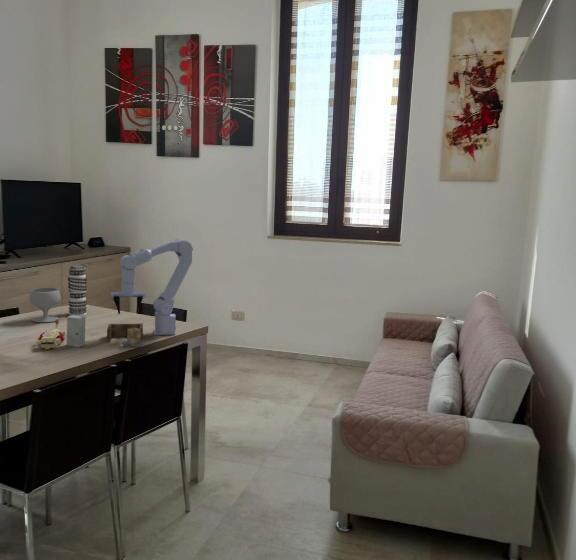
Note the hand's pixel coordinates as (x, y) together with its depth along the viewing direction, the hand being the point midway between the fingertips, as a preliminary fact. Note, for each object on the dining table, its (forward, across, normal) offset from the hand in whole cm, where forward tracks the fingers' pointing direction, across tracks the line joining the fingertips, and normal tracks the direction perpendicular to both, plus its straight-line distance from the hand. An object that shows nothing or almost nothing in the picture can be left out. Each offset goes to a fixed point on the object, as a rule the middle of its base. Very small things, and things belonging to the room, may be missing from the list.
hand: (128, 313), depth 243 cm
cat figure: (+11, +30, +8) cm, 33 cm away
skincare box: (+11, +20, +13) cm, 26 cm away
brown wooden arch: (+10, +1, +4) cm, 11 cm away
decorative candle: (+11, +27, -46) cm, 54 cm away
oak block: (+10, -3, +14) cm, 17 cm away
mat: (+10, -3, +14) cm, 18 cm away
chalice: (+11, +40, -33) cm, 53 cm away
